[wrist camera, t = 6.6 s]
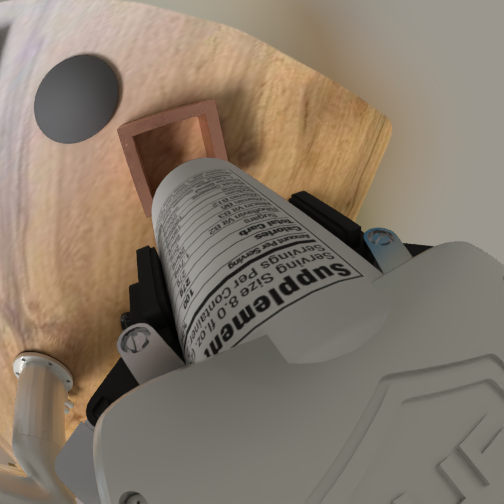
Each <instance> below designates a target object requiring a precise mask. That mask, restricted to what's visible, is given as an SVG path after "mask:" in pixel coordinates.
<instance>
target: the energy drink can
mask: <svg viewBox="0 0 504 504" xmlns="http://www.w3.org/2000/svg"><path fill="white" fill-rule="evenodd" d="M152 222H153V228H154V233H155V239H156V244H157V249H158V254H159V258H160V262H161V267H162V271H163V276H164V280H165V285H166V289H167V293H168V297H169V301H170V305H171V309H172V313H173V317H174V321H175V326H176V331H177V334H178V338H179V341H180V345H181V348H182V352H183V355H184V359H185V362H186V365H190V364H192V363H195V362H198V361H200V360H203V359H205V358H208V357H210V356H213V355H215V354H218V353H220V352H222V351H225V350H227V349H230V348H233V347H235V346H238V345H240V344H243V343H245V342H248V341H251V340H253V339H256V338H259V337H262V336H264V335H268V336H269V338H270V339H271V341H272V342H273V343H274V345H275V346H276V347H277V349H278V350H279V351H280V353H281V354H282V356H283V357H284V358H285V360H286V361H287V362H288V363H296V364H304V363H318V362H324V361H327V360H330V359H333V358H336V357H338V356H341V355H344V354H346V353H349V352H351V351H354V350H356V349H358V348H359V347H360V346H361V345H363V344H364V343H365V342H366V341H367V340H369V339H370V338H371V337H372V336H373V335H375V334H376V333H377V332H378V331H379V330H380V329H381V327H382V325H383V324H384V322H385V320H386V318H387V316H388V314H389V312H390V309H391V307H392V304H391V303H390V302H389V301H388V300H387V299H386V298H385V297H384V296H383V295H382V294H381V293H380V292H379V291H377V290H376V289H375V288H374V287H373V286H372V285H371V284H370V283H371V282H372V281H373V280H375V279H376V278H378V277H380V276H381V275H383V274H382V273H381V272H380V271H379V270H378V269H376V268H375V267H374V266H373V265H371V264H370V263H369V262H368V261H366V260H365V259H364V258H363V257H361V256H360V255H359V254H358V253H356V252H355V251H354V250H352V249H351V248H350V247H349V246H347V245H346V244H345V243H343V242H342V241H341V240H339V239H338V238H337V237H336V236H334V235H333V234H332V233H330V232H329V231H328V230H326V229H325V228H324V227H322V226H321V225H320V224H318V223H317V222H316V221H314V220H313V219H311V218H310V217H309V216H307V215H306V214H305V213H303V212H302V211H300V210H299V209H298V208H296V207H295V206H293V205H292V204H291V203H289V202H288V201H286V200H285V199H284V198H282V197H281V196H279V195H278V194H276V193H275V192H274V191H272V190H271V189H269V188H268V187H266V186H265V185H263V184H262V183H260V182H259V181H258V180H256V179H255V178H253V177H252V176H250V175H249V174H247V173H246V172H244V171H243V170H241V169H240V168H238V167H236V166H235V165H233V164H232V163H230V162H227V161H225V160H222V159H217V158H198V159H194V160H190V161H188V162H186V163H183V164H181V165H179V166H178V167H176V168H175V169H174V170H172V171H171V172H170V173H169V174H168V175H167V176H166V177H165V178H164V179H163V180H162V182H161V184H160V185H159V187H158V188H157V190H156V193H155V196H154V198H153V203H152Z"/></svg>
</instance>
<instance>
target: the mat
mask: <svg viewBox="0 0 504 504" xmlns="http://www.w3.org/2000/svg"><path fill="white" fill-rule="evenodd" d="M117 99H118V84H117V80H116V77H115V75H114V73H113V71H112V70H111V68H110V67H109V66H108V65H107V64H106V63H105V62H103V61H102V60H100V59H98V58H96V57H93V56H75V57H71V58H68V59H66V60H64V61H62V62H60V63H59V64H57V65H56V66H55V67H53V68H52V69H51V70H50V71H49V72H48V73H47V75H46V76H45V77H44V79H43V80H42V82H41V84H40V85H39V88H38V90H37V93H36V97H35V102H34V113H35V118H36V121H37V124H38V126H39V128H40V129H41V131H42V132H43V133H44V134H45V135H46V136H47V137H48V138H50V139H52V140H54V141H56V142H59V143H64V144H71V143H77V142H81V141H84V140H86V139H88V138H90V137H92V136H93V135H95V134H96V133H97V132H99V131H100V130H101V129H102V128H103V127H104V126H105V125H106V123H107V122H108V121H109V119H110V117H111V116H112V114H113V112H114V110H115V107H116V103H117Z"/></svg>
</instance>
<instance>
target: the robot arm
mask: <svg viewBox="0 0 504 504" xmlns="http://www.w3.org/2000/svg"><path fill="white" fill-rule="evenodd" d="M289 203H291V204H292V205H293V206H295V207H296V208H298V209H299V210H300V211H302V212H303V213H305V214H306V215H307V216H309V217H310V218H311V219H313V220H314V221H316V222H317V223H318V224H320V225H321V226H322V227H324V228H325V229H326V230H328V231H329V232H330V233H332V234H333V235H334V236H336V237H337V238H338V239H339V240H341V241H342V242H343V243H345V244H346V245H347V246H349V247H350V248H351V249H352V250H354V251H355V252H356V253H358V254H359V255H360V256H361V257H363V258H364V259H365V260H366V261H368V262H369V263H370V264H371V265H373V266H374V267H375V268H376V269H378V270H379V271H380V272H381V273H382V274H383V275H381V276H380V277H378V278H376V279H375V280H373V281H372V282H371V283H370V284H371V285H372V286H373V287H374V288H375V289H376V290H377V291H379V292H380V293H381V294H382V295H383V296H384V297H385V298H386V299H387V300H388V301H389V302H390V303H391V304H392V307H391V309H390V312H389V314H388V316H387V318H386V320H385V322H384V324H383V325H382V327H381V329H380V330H379V331H378V332H377V333H376V334H375V335H373V336H372V337H371V338H370V339H369V340H367V341H366V342H365V343H364V344H363V345H361V346H360V347H359V348H358V349H356V350H354V351H351V352H349V353H346V354H344V355H341V356H338V357H336V358H333V359H330V360H327V361H324V362H318V363H304V364H296V363H288V362H287V361H286V360H285V358H284V357H283V356H282V354H281V353H280V351H279V350H278V349H277V347H276V346H275V345H274V343H273V342H272V341H271V339H270V338H269V336H268V335H264V336H262V337H259V338H256V339H253V340H251V341H248V342H245V343H243V344H240V345H238V346H235V347H233V348H230V349H227V350H225V351H222V352H220V353H218V354H215V355H213V356H210V357H208V358H205V359H203V360H200V361H198V362H195V363H192V364H190V365H186V362H185V359H184V355H183V352H182V348H181V345H180V341H179V338H178V334H177V331H176V326H175V321H174V317H173V313H172V309H171V305H170V301H169V297H168V293H167V289H166V285H165V280H164V276H163V271H162V267H161V262H160V258H159V256H158V254H157V251H156V249H155V247H153V248H150V247H149V245H148V246H146V247H143V248H141V249H138V250H136V253H137V267H138V279H139V282H138V283H135V284H132V285H130V286H129V297H130V312H131V324H132V326H130V327H128V328H127V329H126V330H124V331H123V332H122V334H121V335H120V336H119V338H118V341H117V349H118V352H119V354H120V355H121V358H120V359H119V360H118V362H117V363H116V364H115V366H114V367H113V369H112V370H111V371H110V373H109V374H108V375H107V377H106V378H105V379H104V381H103V382H102V384H101V385H100V386H99V388H98V389H97V390H96V392H95V393H94V395H93V396H92V397H91V399H90V401H89V402H88V404H87V409H86V416H87V420H86V421H85V423H83V422H80V424H79V425H78V426H77V428H76V429H75V431H74V432H73V434H72V435H71V437H70V438H69V439H68V441H67V442H66V443H65V414H67V413H68V412H69V410H70V408H73V407H74V403H73V402H71V401H70V400H69V399H68V392H69V391H70V390H71V389H72V386H73V378H72V375H71V373H70V371H69V370H68V369H67V368H66V367H65V366H64V365H63V364H62V363H60V362H59V361H57V360H56V359H54V358H52V357H50V356H47V355H44V354H41V353H36V352H25V353H21V354H19V355H17V356H16V358H15V359H14V363H13V371H14V373H15V375H16V377H17V378H18V384H17V391H16V398H15V407H14V418H13V435H12V448H13V452H14V455H15V457H16V459H17V461H18V463H19V464H20V466H21V467H22V469H23V470H24V472H25V473H26V474H27V476H28V477H24V476H19V475H16V474H14V473H11V472H8V471H5V470H3V469H0V504H77V502H76V500H75V497H74V495H75V496H76V497H77V498H78V499H79V500H80V501H81V502H83V503H84V504H504V265H503V264H502V263H501V262H499V261H498V260H497V259H495V258H493V257H492V256H491V255H489V254H488V253H486V252H485V251H483V250H482V249H480V248H478V247H476V246H474V245H472V244H470V243H468V242H461V241H457V242H456V241H455V242H449V243H444V244H441V245H437V246H426V245H416V244H407V243H402V242H401V240H400V239H399V238H398V236H397V235H396V234H395V233H394V232H392V231H391V230H388V229H385V228H372V229H369V230H367V231H366V232H365V233H363V232H362V231H361V226H359V225H358V224H356V223H355V222H353V221H352V220H350V219H349V218H347V217H346V216H344V215H343V214H341V213H339V212H338V211H336V210H335V209H333V208H332V207H330V206H328V205H327V204H325V203H324V202H322V201H320V200H319V199H317V198H315V197H314V196H312V195H310V194H309V193H307V192H305V191H301V192H298V193H295V194H292V196H291V198H290V199H289ZM69 407H70V408H69Z"/></svg>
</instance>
